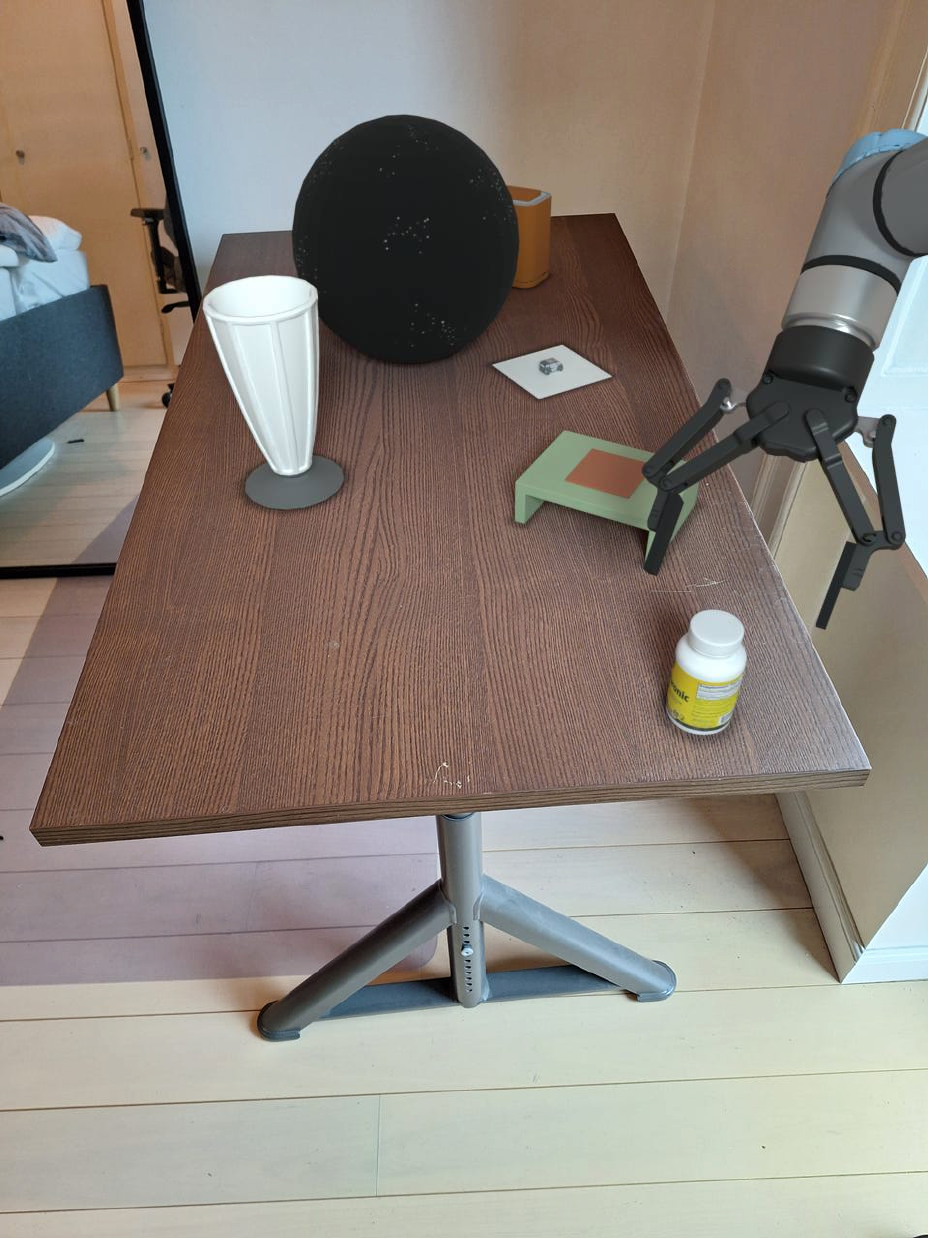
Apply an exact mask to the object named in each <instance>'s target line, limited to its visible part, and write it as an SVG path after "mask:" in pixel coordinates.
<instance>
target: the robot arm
mask: <svg viewBox="0 0 928 1238" xmlns="http://www.w3.org/2000/svg"><path fill="white" fill-rule="evenodd" d="M822 206H823V207H822V209H821V212H820V215H819V218H818V220H817V224H816V226H815V229H814V232H813V235H812V238H811V241H810V243H809V246H808V249H807V252H806V255H805V258H804V261H803V264H802V266H801V270H800V274H799V275H798V278H797V279H796V282H795V284H794V287H793V289H792V293H791V294H790V297H789V301H788V304H787V306H786V308H785V311H784V314H783V317H782V319H781V322H780V327H781V330H782V331H780V332H779V333H777V335H776V336H775V339H774V341H773V344H772V347H771V350H770V353H769V355H768V358H767V361H766V363H765V367H764V369H763V372H762V374H761V377H760V379H759V381H758V383H757V384H756V386H755V387H754V388H753V389H752V390H751V391H749V390H746V389H743V388H740V387H738V386H735V385H732V383H731V381H730V380H729V379H728V378H725V377H722V378H719V379H717V381H716V382H715V384H714V386H713V388H712V390H711V391H710V393H709V396H708V397H707V400H706V402H705V403H704V404H703V405H702V406H701V407H700V408H699V409H698V410H697V411H696V412H695V413H694V414H693V415H692V416H691V417H690V418H688V420H687V421H686V422H685V423H684V424H683V425H681V427H680V428H679V429H678V430H677V431H676V432H674V434H673V435H671V437H670V438H669V439H668V440H667V441H666V442H664V444H663V445H662V446H661V447H660V448H659V449H658V450H657V451H656V452H654V453H655V454H654V455H653V456H652V457H651V458H650V459H649V460H648V461H647V462H646V463H645V464H644V465H643V467H642V473H643V475H644V477H645V478H646V480H647V481H648V482H649V483H650V484H652V485H654V486H655V487H656V488H657V495H656V498H655V501H654V503H653V506H652V509H651V512H650V515H649V517H648V520H647V527H648V529H649V530H650V531H653V532H656V534H655V536H654V539H653V542H652V545H651V547H650V550H649V553H648V556H647V558H646V561H645V560H644V564H643V567H642V570H644V571H645V572H646V573H647V574H649V575H652V576H654V577H658V576H659V573H660V569H661V567H662V564H663V562H664V559H665V556H666V554H667V551H668V548H669V546H670V544H671V542H670V540H671V537H672V535H673V532H674V529H675V526H676V524H677V521H678V518H679V515H680V513H681V510H682V507H683V505H684V501H683V500H682V498H681V496H680V495H679V494H680V493H681V492H683V491H684V490H686V489H688V488H689V487H691V486H693V485H694V484H696V483H697V482H699V483H700V482H701V481H703V480H704V479H705V478H707V477H709V476H710V475H712V474H714V473H715V472H717V471H718V470H720V469H722V468H723V467H725V466H726V465H728V464H729V463H731V462H733V461H734V460H736V459H738V458H739V457H742V456H744V455H747V454H749V453H750V452H753V451H754V450H756V449H758V448H760V449H761V450H762V451H764V452H765V454H766V455H769V456H773V457H787V458H789V459H791V460H792V461H795V462H797V463H802V464H806V462H813V461H816V460H817V461H818V463H819V465H820V467H821V470H822V472H823V474H824V475H825V477H826V479H827V481H828V483H829V485H830V487H831V491H832V492H833V494H834V497H835V499H836V501H837V503H838V505H839V507H840V510H841V512H842V514H843V515H842V516H843V517H844V520H845V521H846V523H847V526H848V528H849V530H850V533H851V535H852V537H853V540H854V541H855V542H852V541H849V540H846V541H845V544H844V546H843V549H842V551H841V554H840V557H839V559H838V562H837V564H836V568H835V570H834V573H833V576H832V579H831V582H830V583H829V587H828V589H827V591H826V595H825V597H824V600H823V602H822V606H821V608H820V610H819V613H818V616H817V619H816V621H815V628H818V629H821V630H824V631H826V629H827V627H828V625H829V622H830V619H831V616H832V613H833V612H834V609H835V606H836V603H837V600H838V598H839V596H840V592H841V589H843V590H848V591H851V592H856V591H857V589H859V587H860V585H861V583H862V580H863V577H864V575H865V572H866V569H867V568H868V564H869V561H870V558H871V556H872V555H873V554H874V553H876V552H878V551H885V550H889V551H898V550H900V549H901V548H902V547H903V545H904V543H905V541H906V539H907V533H906V532H907V531H906V526H905V520H904V515H903V507H902V503H901V502H902V501H901V496H900V489H899V484H898V476H897V471H896V465H895V459H894V452H893V446H892V444H893V439H894V435H895V431H896V427H897V423H898V422H897V417H896V416H895V415H893V414H891V413H886V414H883V415H882V416H881V417H880V418H879V417H872V416H864V415H859V413H858V405H859V403H860V400H861V397H862V395H863V392H864V389H865V387H866V383H867V382H868V378H869V376H870V373H871V371H872V367H873V365H874V362H875V359H876V358H875V354H874V352H876V350H878V349H879V348H880V346H881V343H882V340H883V338H884V335H885V333H886V330H887V328H888V325H889V323H890V319H891V317H892V314H893V311H894V309H895V306H896V304H897V301H898V297H899V295H900V292H901V291H902V290H901V289H902V287H903V283H904V281H905V278H906V276H907V273H908V271H909V269H910V266H911V264H912V263H913V262H914V260H917V259H920V258H923V257H926V256H928V135H926V134H924V133H922V132H921V133H920V132H918V131H916V130H911V129H906V128H890V129H888V130H887V131H886V132H879V131H872V132H870V133H867V134H865V135H864V136H861V137H860V138H859V139H857V140H856V141H855V142H853V143H852V145H851V146H850V147H849V148H848V150H847V151H846V153H845V154H844V156H843V158H842V161H841V163H840V166H839V168H838V171H837V173H836V174H835V176H834V177H833V179H832V181H831V185H829V186H828V189H827V193H826V194H825V200H824V204H823V205H822ZM741 407H744V408H746V413H747V416H748V418H749V420H748V421H746V422H744V423H743V424H741V425H740V426H738V427H736V428H735V429H734V430H733V432H732V433H731V434H729V435H728V436H726V437H725V438H723V439H722V440H720V441H718V442H717V443H715V444H713V445H712V446H710V447H709V448H707V449H705V450H704V451H702V452H701V453H699V454H697V455H696V456H694V457H693V458H691V459H690V460H688V461H687V462H686V463H685V464H683V465H682V466H680V467H678V468H677V469H675V470H674V471H672V472H671V473H669V474H667V473H668V472H669V471H670V470H671V469H672V468H673V467H674V466H675V465H676V464H677V463H679V462H680V461H681V460H683V459H684V458H685V457H686V456H687V455H688V454H689V453H690V452H691V451H692V450H694V448H695V447H696V446H697V445H698V444H699V443H700V442H701V441H702V440H703V439H704V438H705V437H706V436H707V435H708V434H709V433H710V432H711V431H712V430H713V429H714V428H715V427H716V426H717V425H718V423H720V422H721V421H722V418H723V417H724V416H725V415H731V414H733V413H735V411H736V410H737V409H738V408H741ZM854 433H856V434H857V433H858V434H859V435H860V436H861V438H862V444H863V445H864V447H866V448H868V449H871V464H872V470H873V476H874V477H873V478H874V484H875V489H876V496H877V502H878V508H879V514H880V520H881V527H882V528H881V530H880V529H879V530H875V528H874V525H873V524H872V522H871V519H870V518H869V515H868V513H867V511H866V507H865V506H864V504H863V501H862V500H861V497H860V495H859V493H858V491H857V489H856V486H855V484H854V482H853V480H852V478H851V476H850V473H849V471H848V469H847V466H846V464H845V462H844V459H843V457H842V453H841V450H840V449H839V447H838V445H839V444H841V443H842V442H844V441H845V440H847V439H848V438H850V437H851V436H852V435H853V434H854ZM669 543H670V544H669Z"/></svg>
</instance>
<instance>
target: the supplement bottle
mask: <svg viewBox="0 0 928 1238" xmlns="http://www.w3.org/2000/svg"><path fill="white" fill-rule="evenodd" d="M744 635H745V628H744V625H743V623H742V622H741V621H740V619H739V618H738V617H736V616H735V615H733V613H730V612H727V611H725V610H722V609H704V610H701V611H699V612H697V613H696V614H695V615H693V616H692V617H691V619H690V622H689V627H688V631H687V632H686V633H685V634H684V635H682V636H681V638H680V639H679V640H678V642H677V644H676V647H675V651H674V657H673V662H672V667H671V673H670V678H669V684H668V689H667V693H666V701H665V710H666V713H667V716H668V718H669V719H670V721H671V722H672V723H673V725H675V726H676V727H677V728H679V729H681V730H682V731H684V732H686V733H690V734H693V735H699V736H708V735H715V734H718V733H720V732H722V731H723V730H725V729H726V728H727V727H728V725H729V724H730V722H731V721H732V718H733V715H734V711H735V708H736V703H737V700H738V695H739V692H740V689H741V688H740V687H741V684H742V680H743V677H744V673H745V670H746V665H747V659H748V656H747V650H746V648H745V646H744V645H743V639H744Z"/></svg>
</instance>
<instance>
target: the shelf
mask: <svg viewBox="0 0 928 1238" xmlns="http://www.w3.org/2000/svg"><path fill="white" fill-rule="evenodd" d="M655 453H656V452H652V451H647V450H643V449H640V448H636V447H632V446H628V445H625V444H620V443H616V442H613V441H610V440H609V441H608V440H605V439H601V438H598V437H593V436H590V435H589V436H588V435H585V434H581V433H578V432H574V431H569V430H563V431H562V432H561V433H560V434H559V435H558V436H557V437H556V438H555V439H554V441H552V443H551V444H550V445H549V446H547V448H546V449H545V450H544V451H543V452H542V453H541V454H540V455H539V456H538V457H537V459H536V460H534V461H533V463H531V465H529V467H527V469H526V470H525V471H524V472H523V473H522V474H521V475H520V476H519V477H518V478H517V480H516V481H515V483H514V491H515V492H514V522H517V523H520V524H522V525H525V524H526V523H527V522H528V520H529V519H530V518H532V516H533V515H534V514H535V513H536V511H537V510H538V509H539V508H540V507H541V506H542V505H543V503H545V501H546V502H551V503H553V504H557V505H559V506H560V505H561V506H563V507H567V508H571V509H573V510H577V511H581V512H585V513H587V514H591V515H594V516H597V517H601V518H604V519H608V520H612V521H615V522H618V523H622V524H625V525H627V526H632V527H635V528H639V529H642V530H646V531H648V537H647V544H646V550H645V551H646V552H645V558H644V562H645V561H646V558H647V556H648V553H649V550H650V547H651V545H652V542H653V539H654V536H655V534H656V532H653V531H650V530H649V529H648V527H647V520H648V517H649V515H650V512H651V509H652V506H653V503H654V501H655V498H656V495H657V488H656V487H655V486H654V485H652V484H650V483H649V482H648V481H647V480H646V478H645V477H644V475H643V473H642V467H643V465H644V464H645V463H646V462H647V461H648V460H649V459H650V458H651V457H652V456H653V455H654V454H655ZM686 462H688V461H687V460H683V459H682V460H681V461H680V462H679V463H677V464H676V465H675V466H674V467H673V468H672V469H671V470H670V471H669V472H668V473H667V474H669V473H671V472H672V471H674V470H675V469H677V468H678V467H680V466H682V465H683V464H685V463H686ZM699 486H700V481H699V482H697V483H696V484H694V485H693V486H691V487H689V488H688V489H686V490H684V491H683V492H681V493H680V494H679V495H680V496H681V498H682V500H683V501H684V505H683V507H682V510H681V513H680V515H679V518H678V521H677V524H676V526H675V529H674V532H673V535H672V537H671V540H670V543H669V545H670V544H671V543H672V541H673V539H674V538H675V536H676V535H677V533H678V532H679V530H680V529H681V527H682V525H683V524H684V522H685V521H686V519H688V516H689V515H690V513H691V512H692V510H693V509H694V507H695V505H696V502H697V497H698V493H699V491H698V490H699Z"/></svg>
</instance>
